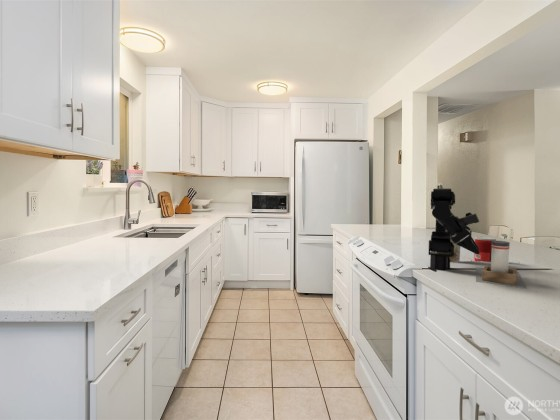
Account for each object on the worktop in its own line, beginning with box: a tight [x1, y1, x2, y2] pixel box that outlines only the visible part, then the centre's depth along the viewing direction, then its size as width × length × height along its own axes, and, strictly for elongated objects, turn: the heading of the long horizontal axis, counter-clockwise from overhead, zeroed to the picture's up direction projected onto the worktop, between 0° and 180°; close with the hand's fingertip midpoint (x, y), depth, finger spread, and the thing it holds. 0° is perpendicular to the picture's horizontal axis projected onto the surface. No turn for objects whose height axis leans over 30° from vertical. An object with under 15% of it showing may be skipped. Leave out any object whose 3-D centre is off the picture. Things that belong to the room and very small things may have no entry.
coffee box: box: [441, 230, 461, 264], centre depth 140 cm, size 9×6×16 cm
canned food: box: [473, 236, 497, 263], centre depth 141 cm, size 8×8×11 cm
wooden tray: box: [482, 265, 518, 286], centre depth 109 cm, size 10×10×4 cm
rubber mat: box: [475, 266, 528, 289], centre depth 113 cm, size 24×14×1 cm, turn 148°
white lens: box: [490, 240, 511, 273], centre depth 109 cm, size 5×5×13 cm
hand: (478, 251), depth 113 cm, fingers open, 9 cm apart
